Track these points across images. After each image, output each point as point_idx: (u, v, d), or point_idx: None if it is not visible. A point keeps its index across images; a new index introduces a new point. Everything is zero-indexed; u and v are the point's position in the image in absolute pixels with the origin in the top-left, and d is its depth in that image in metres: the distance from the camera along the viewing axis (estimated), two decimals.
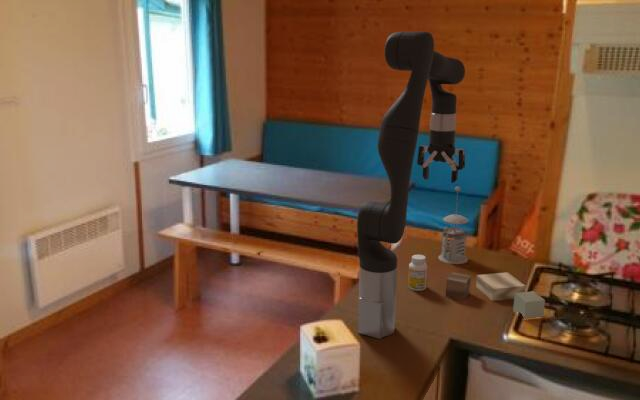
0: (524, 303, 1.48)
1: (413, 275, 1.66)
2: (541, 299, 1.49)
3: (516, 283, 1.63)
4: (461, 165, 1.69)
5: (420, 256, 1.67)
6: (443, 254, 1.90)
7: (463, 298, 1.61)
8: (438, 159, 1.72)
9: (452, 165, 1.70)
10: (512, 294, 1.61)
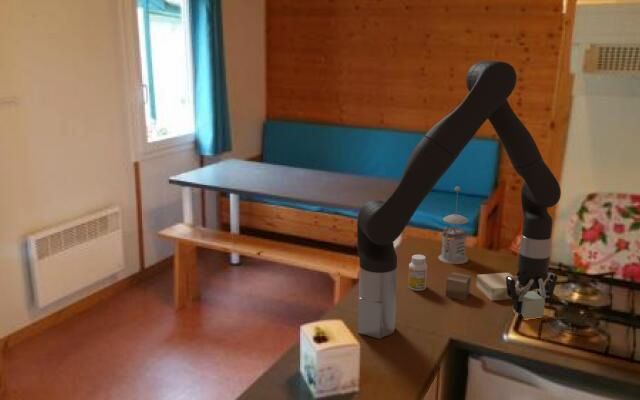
0: (525, 303, 1.48)
1: (413, 275, 1.66)
2: (541, 299, 1.49)
3: None
4: (552, 291, 1.50)
5: (420, 256, 1.67)
6: (443, 254, 1.90)
7: (463, 298, 1.61)
8: (531, 287, 1.49)
9: (543, 293, 1.50)
10: None
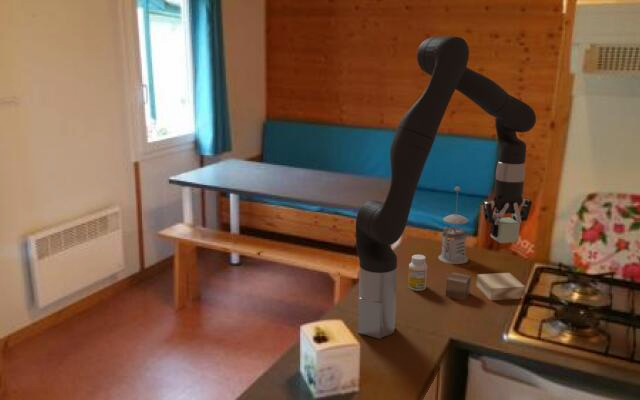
0: (500, 226, 1.58)
1: (413, 275, 1.66)
2: (516, 222, 1.58)
3: (516, 284, 1.63)
4: (526, 216, 1.60)
5: (420, 256, 1.67)
6: (443, 254, 1.90)
7: (463, 298, 1.61)
8: (507, 211, 1.58)
9: (518, 217, 1.59)
10: (511, 295, 1.61)
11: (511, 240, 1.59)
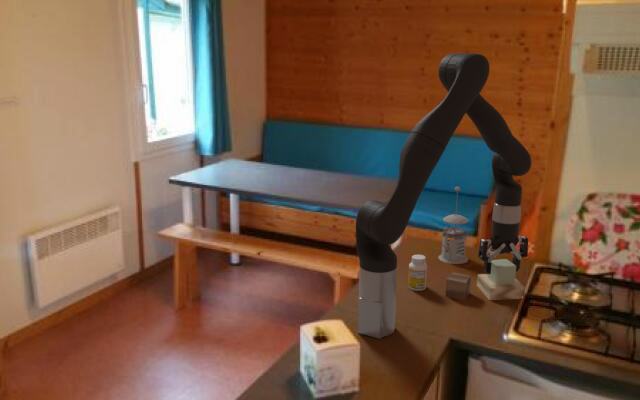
0: (497, 269, 1.61)
1: (413, 275, 1.66)
2: (513, 265, 1.62)
3: (516, 284, 1.63)
4: (526, 253, 1.63)
5: (420, 256, 1.67)
6: (443, 254, 1.90)
7: (463, 298, 1.61)
8: (503, 251, 1.62)
9: (517, 254, 1.63)
10: (511, 295, 1.61)
11: (508, 282, 1.62)
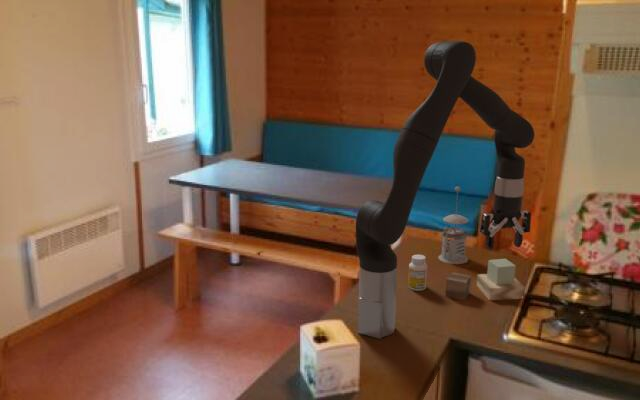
0: (497, 268, 1.61)
1: (413, 275, 1.66)
2: (512, 265, 1.62)
3: (516, 284, 1.63)
4: (529, 228, 1.61)
5: (420, 256, 1.67)
6: (443, 254, 1.90)
7: (463, 298, 1.61)
8: (506, 225, 1.59)
9: (520, 229, 1.61)
10: (510, 295, 1.61)
11: (507, 282, 1.63)
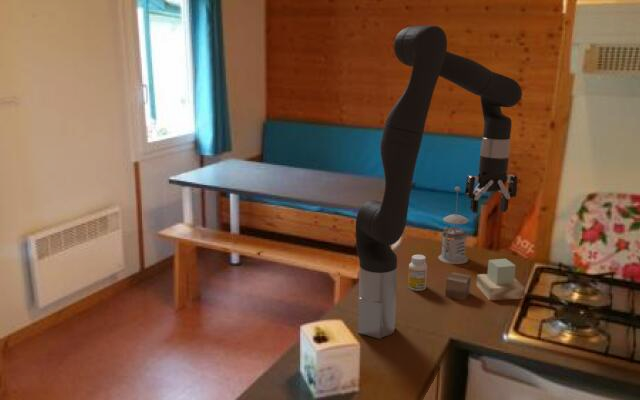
0: (497, 268, 1.61)
1: (413, 275, 1.66)
2: (512, 265, 1.62)
3: (515, 284, 1.63)
4: (515, 192, 1.57)
5: (420, 256, 1.67)
6: (443, 254, 1.90)
7: (463, 298, 1.61)
8: (491, 189, 1.55)
9: (506, 193, 1.56)
10: (510, 295, 1.61)
11: (507, 282, 1.63)
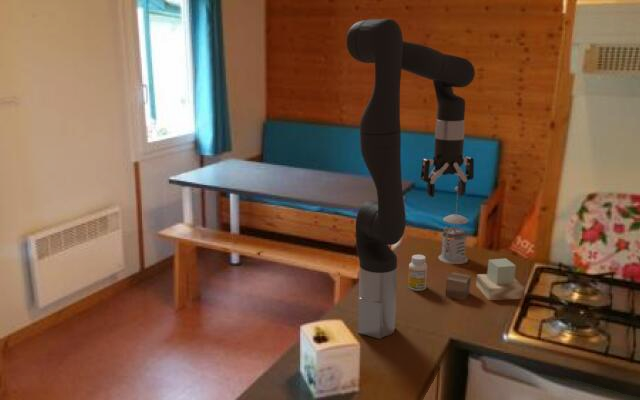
0: (497, 268, 1.61)
1: (413, 275, 1.66)
2: (512, 265, 1.62)
3: (515, 284, 1.62)
4: (472, 174, 1.53)
5: (420, 256, 1.67)
6: (443, 254, 1.90)
7: (463, 298, 1.61)
8: (447, 172, 1.52)
9: (462, 176, 1.53)
10: (510, 295, 1.61)
11: (507, 282, 1.63)
